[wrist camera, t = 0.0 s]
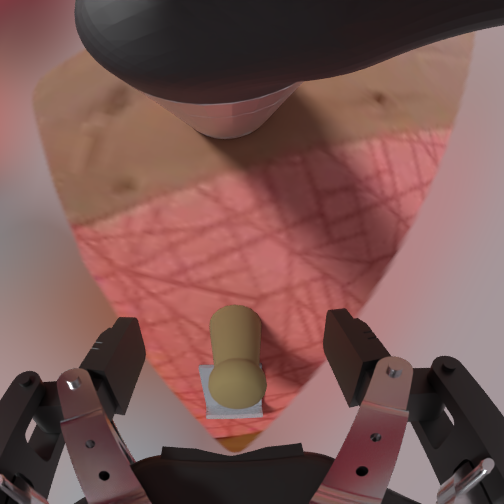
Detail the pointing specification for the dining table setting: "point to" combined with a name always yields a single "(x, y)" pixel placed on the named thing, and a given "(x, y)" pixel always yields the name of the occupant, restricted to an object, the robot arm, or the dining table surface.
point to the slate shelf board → (204, 375)
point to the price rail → (233, 412)
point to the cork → (236, 358)
